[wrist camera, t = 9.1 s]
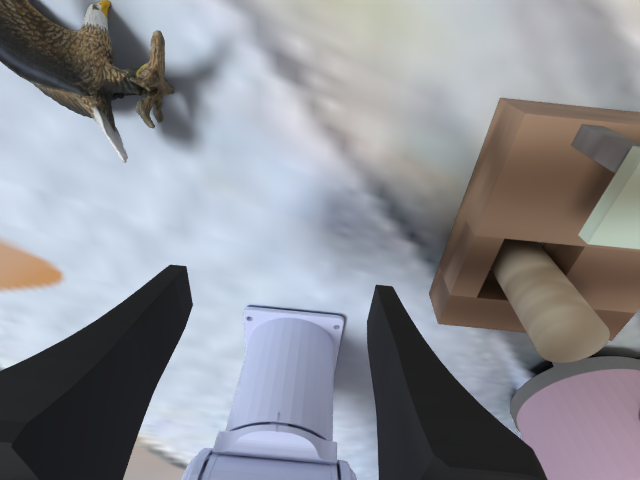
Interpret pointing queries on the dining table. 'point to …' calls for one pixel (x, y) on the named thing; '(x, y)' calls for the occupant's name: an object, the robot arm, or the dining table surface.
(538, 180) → the socket deck
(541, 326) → the peg
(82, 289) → the dining table surface
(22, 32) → the eagle figurine
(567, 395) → the blender
